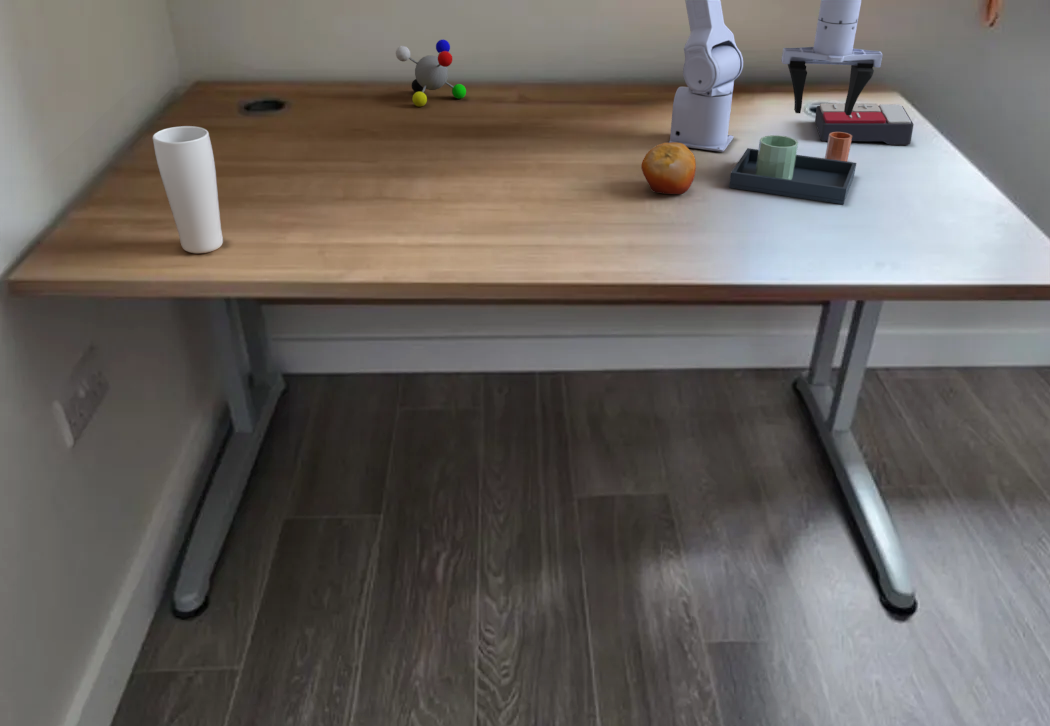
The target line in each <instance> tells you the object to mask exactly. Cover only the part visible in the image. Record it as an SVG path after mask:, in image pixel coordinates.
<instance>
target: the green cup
mask: <svg viewBox="0 0 1050 726" xmlns="http://www.w3.org/2000/svg"><path fill="white" fill-rule="evenodd" d="M798 148H799V141H798V140H797V139H795V138H794V137H790V136H785V135H779V134H778V135H777V134H776V135H774V134H773V135H765V136H762V137H761V138H760V139H759V142H758V149H757V150H758V157H757V164H756V174H755V175H760V176H767V177H774V178H781V179H789V180H791V179H792V178H793V174H794V167H795V161H796V155H798Z"/></svg>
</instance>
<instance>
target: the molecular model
mask: <svg viewBox="0 0 1050 726" xmlns="http://www.w3.org/2000/svg"><path fill="white" fill-rule="evenodd" d="M435 50H436V52H437V53H438V55H432V54H431V55H425V56H422V57H421V58H420V59H419V60H418V61H416V60H415V59H413V58H412V57H411V49H409V47H407V46H405V45H399V46H398V47H397V48H396V50H395V57H396V58H397V60H399V61H400V62H407V61H409V60H410V61H411V62H413V63H414V64H415V68H414V76H415V79H414V80H412V82H411V89H412V91H413V92H414V93H413V95H412V98H411V100H412V103H413V104H414V106H416V107H420V108H421V107H424V106H425V105H426V104H427V102H428V97H427V94H426V93H425V91H426V90H429V91H436V90H439V89H441V88H442V87H443V86H444V85H447V86H449V87H450V88H452V89H451V94H452V96H453V97H454V98H455V99H457V100H461V99H463V98H464V97H465V96H466V94H467V89H466V87H465V85H463V84H461V83H457V84H454V85H452V84H451V83H449V82H448V81H447V80H448V77H449V70H448V67H450V66H451V65H452V63H453V55H452V54H451V53H450V50H451V44H450V42H449V41H448V40H446V39H439V40H438V41H437V42H436V44H435Z"/></svg>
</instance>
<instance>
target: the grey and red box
mask: <svg viewBox="0 0 1050 726" xmlns="http://www.w3.org/2000/svg"><path fill="white" fill-rule="evenodd" d="M815 108H816V109H815V117H814V118H815V119H814V124H815V126H816V127H815V128H816V129H817V132H818V136H819V138H820V141H822V142H828V137H829V134H830V133H832V132H844V133H848V134H851V135H852V141H851V142H884V143H885V144H886V145H889V146H890V145H891V146H897V145H898V146H906V145H907V146H908V145H911V143H912V137H913V131H914V125H915V124H914V122H913V121H912V119H911V117H910V116H909V114H908V112H907V111H906V108H905V107H904V106H903V105H902V104H899V103H892V104H891V103H884V104H883V103H881V104H879V105H878V103H877V102H856V103H855V105H854V107H853V110H852V113H851V115H846V114H845V112H844V108H845V103H843V102H842V103H841V102H835V103H833V102H827V103H825V102H824V103H823V102H822V103H820V104H819V105H817V106H816V107H815Z"/></svg>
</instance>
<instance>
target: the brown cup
mask: <svg viewBox="0 0 1050 726" xmlns="http://www.w3.org/2000/svg"><path fill="white" fill-rule="evenodd" d="M852 142H853V141H852V135H851V134H848V133H844V132H832V133H830V134H829V137H828V141H827V144H826V149H825V155H824V159H832V160H839V161H847V162H849V158H850V157H849V156H850V150H851V145H852Z"/></svg>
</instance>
